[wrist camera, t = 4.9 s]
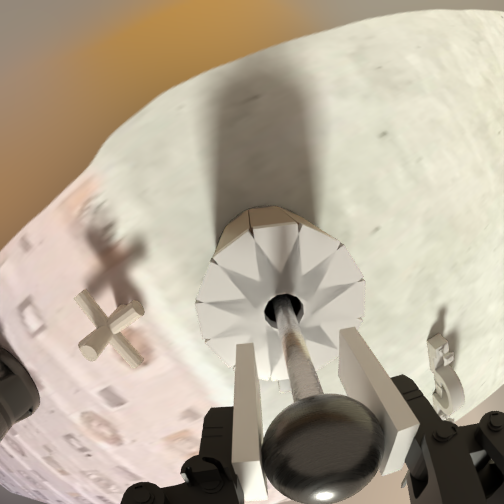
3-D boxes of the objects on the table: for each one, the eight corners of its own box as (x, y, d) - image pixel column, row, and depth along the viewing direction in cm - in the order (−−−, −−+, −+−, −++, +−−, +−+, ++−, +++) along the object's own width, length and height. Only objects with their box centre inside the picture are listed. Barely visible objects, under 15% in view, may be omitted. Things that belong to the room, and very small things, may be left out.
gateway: (424, 339, 36) (453, 367, 28) (436, 331, 36) (466, 358, 28) (432, 412, 40) (451, 438, 32) (442, 405, 40) (461, 431, 32)
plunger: (234, 314, 28) (222, 544, 7) (222, 233, 26) (143, 428, 5) (316, 303, 28) (420, 504, 7) (310, 222, 26) (497, 356, 5)
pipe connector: (126, 256, 31) (84, 285, 22) (178, 322, 33) (157, 371, 24) (77, 299, 32) (34, 333, 23) (125, 356, 35) (97, 404, 25)
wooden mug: (229, 335, 34) (222, 418, 20) (209, 212, 30) (181, 237, 17) (320, 322, 34) (358, 398, 20) (312, 200, 30) (364, 215, 17)
